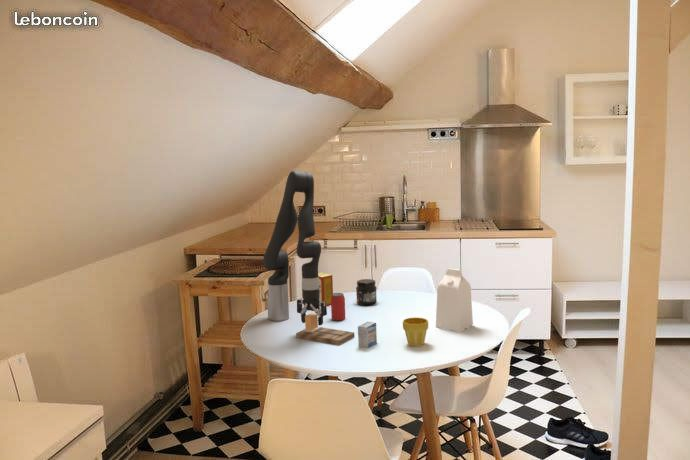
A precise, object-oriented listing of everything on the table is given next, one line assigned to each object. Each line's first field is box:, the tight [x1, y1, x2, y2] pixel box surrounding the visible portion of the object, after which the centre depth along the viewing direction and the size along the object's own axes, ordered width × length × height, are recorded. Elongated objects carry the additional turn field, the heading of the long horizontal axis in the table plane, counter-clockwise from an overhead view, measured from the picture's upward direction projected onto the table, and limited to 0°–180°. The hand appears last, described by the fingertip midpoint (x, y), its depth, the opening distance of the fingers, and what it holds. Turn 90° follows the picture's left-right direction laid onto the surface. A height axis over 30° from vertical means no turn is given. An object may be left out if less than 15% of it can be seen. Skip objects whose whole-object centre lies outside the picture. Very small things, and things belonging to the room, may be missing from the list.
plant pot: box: [402, 316, 429, 347], centre depth 248 cm, size 10×10×10 cm
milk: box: [435, 267, 474, 332], centre depth 269 cm, size 12×12×26 cm
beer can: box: [330, 292, 346, 322], centre depth 287 cm, size 7×7×12 cm
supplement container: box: [355, 278, 378, 307], centre depth 313 cm, size 10×10×12 cm
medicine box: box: [357, 321, 378, 349], centre depth 249 cm, size 8×4×9 cm, turn 148°
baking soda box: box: [318, 272, 334, 307], centre depth 314 cm, size 10×6×16 cm
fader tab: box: [302, 312, 321, 333], centre depth 264 cm, size 5×6×7 cm
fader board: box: [295, 326, 355, 346], centre depth 261 cm, size 22×12×2 cm, turn 58°
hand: (312, 323), depth 264 cm, fingers open, 8 cm apart
